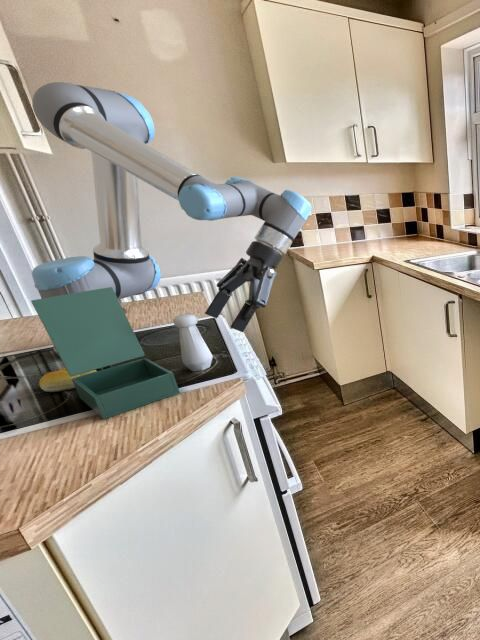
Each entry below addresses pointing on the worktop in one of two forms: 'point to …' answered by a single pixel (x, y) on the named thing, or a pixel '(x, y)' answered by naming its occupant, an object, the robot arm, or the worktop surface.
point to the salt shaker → (192, 343)
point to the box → (125, 387)
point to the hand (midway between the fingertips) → (223, 322)
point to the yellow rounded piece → (59, 380)
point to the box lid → (88, 329)
